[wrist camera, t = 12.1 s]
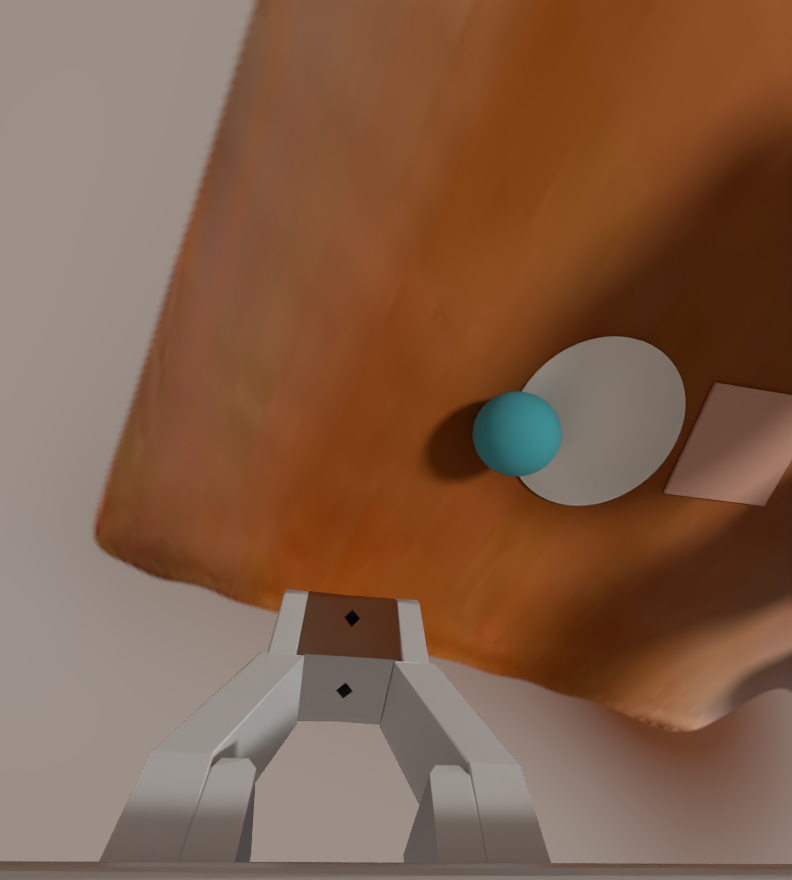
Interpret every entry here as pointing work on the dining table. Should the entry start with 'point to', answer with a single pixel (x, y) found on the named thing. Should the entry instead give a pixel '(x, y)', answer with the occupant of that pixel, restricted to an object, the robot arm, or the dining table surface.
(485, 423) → the ball
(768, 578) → the dining table surface
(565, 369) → the disc
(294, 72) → the dining table surface
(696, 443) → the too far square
